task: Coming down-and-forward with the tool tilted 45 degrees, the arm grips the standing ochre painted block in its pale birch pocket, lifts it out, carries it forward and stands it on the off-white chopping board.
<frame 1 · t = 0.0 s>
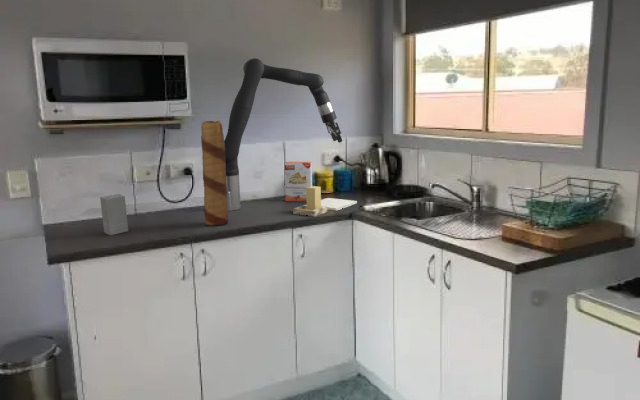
hand: (338, 141, 268), 31 cm above the countertop, tool tilted 20°, fingers open, 8 cm apart
cracker box: (299, 201, 276), on the countertop
pocket: (311, 212, 248), on the countertop
skincare box: (116, 233, 216), on the countertop
chopping board: (331, 205, 263), on the countertop
block: (313, 211, 249), on the countertop
wafer roll: (217, 223, 229), on the countertop
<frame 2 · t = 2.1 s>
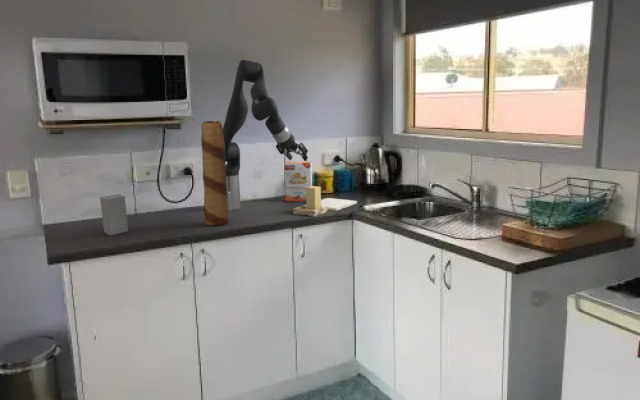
hand: (298, 159, 235), 27 cm above the countertop, tool tilted 45°, fingers open, 8 cm apart
nothing on the countertop moved.
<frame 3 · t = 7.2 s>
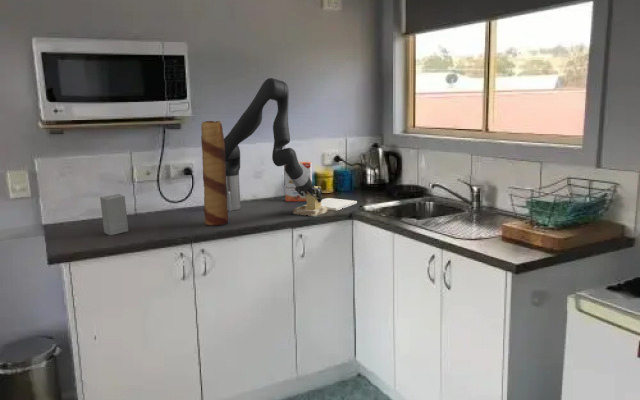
hand: (315, 200, 250), 5 cm above the countertop, tool tilted 45°, fingers closed on block, 5 cm apart
block: (313, 211, 249), on the countertop, touching gripper
everything else where it was.
when the fingers open (8 cm above the countertop, at t = 12.3 s): block drops 2 cm, resting on chopping board.
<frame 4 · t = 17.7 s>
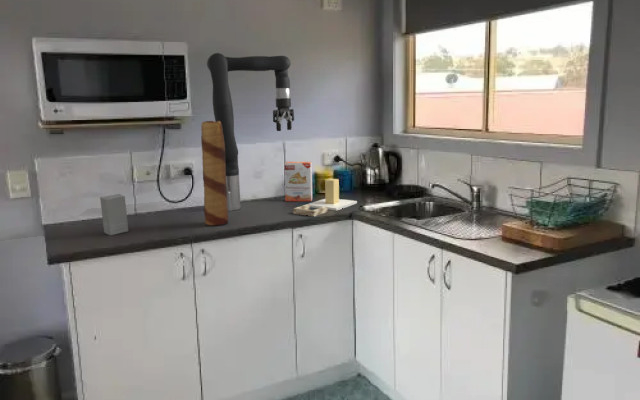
hand: (284, 130, 259), 38 cm above the countertop, tool pointing down, fingers open, 8 cm apart
block: (332, 202, 263), point 1 cm above the countertop, touching chopping board
everything else where it was.
at the end: block inside the target area (0.7 cm from its centre), point 1.2 cm above the countertop; block tilted 0°; the gripper is holding nothing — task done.
